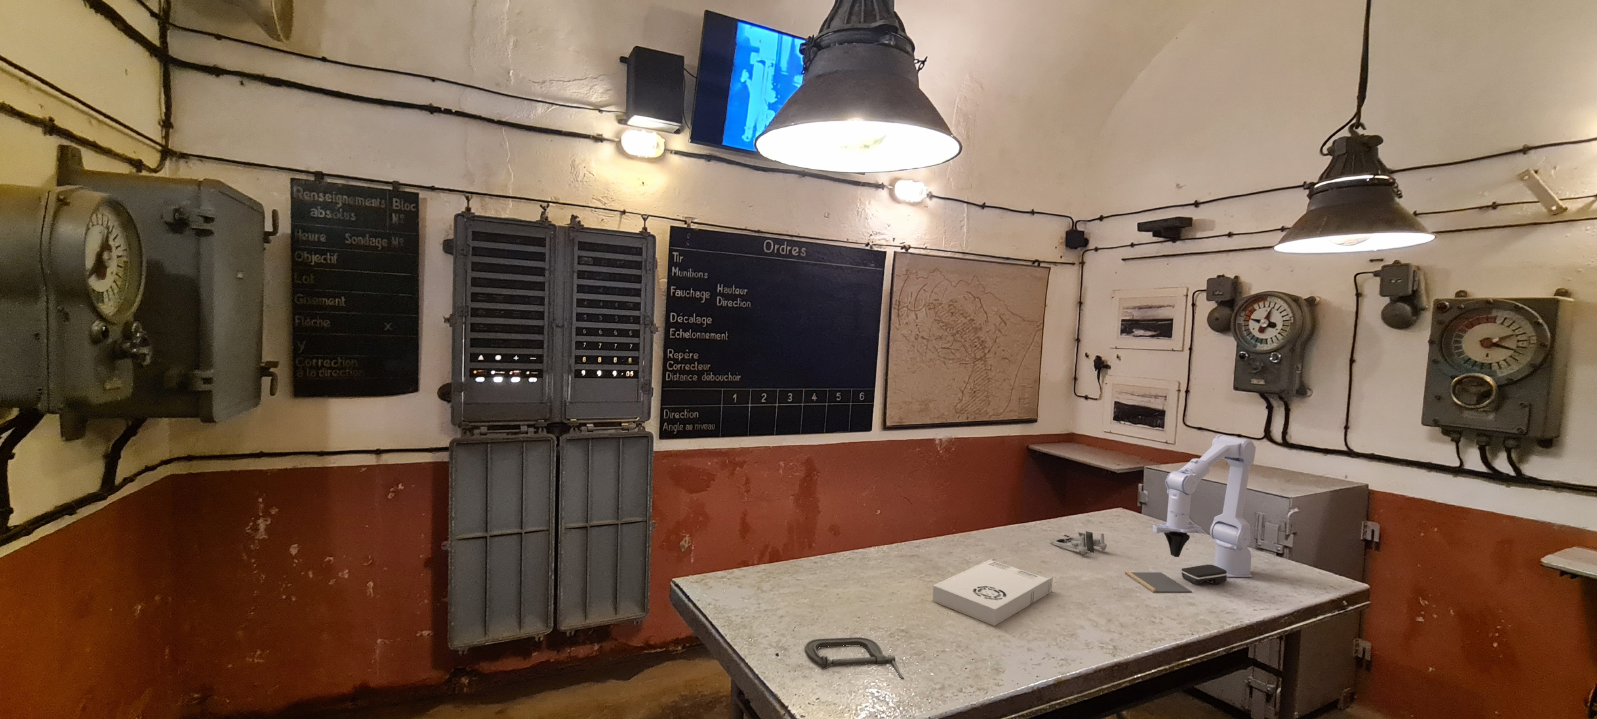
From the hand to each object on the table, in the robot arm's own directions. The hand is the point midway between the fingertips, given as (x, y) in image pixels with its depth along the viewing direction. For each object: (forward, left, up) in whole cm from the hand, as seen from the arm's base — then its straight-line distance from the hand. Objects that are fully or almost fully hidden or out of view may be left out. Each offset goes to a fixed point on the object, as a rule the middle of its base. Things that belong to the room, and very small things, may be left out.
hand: (1174, 555), depth 197 cm
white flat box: (+60, +9, -9) cm, 61 cm away
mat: (+5, 0, -8) cm, 10 cm away
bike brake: (+16, -31, -9) cm, 36 cm away
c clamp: (+106, +42, -9) cm, 115 cm away
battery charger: (-5, 0, -7) cm, 9 cm away
